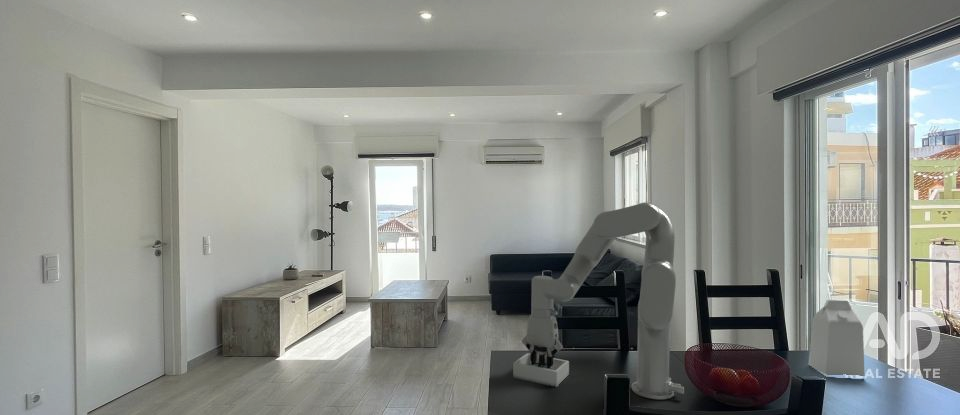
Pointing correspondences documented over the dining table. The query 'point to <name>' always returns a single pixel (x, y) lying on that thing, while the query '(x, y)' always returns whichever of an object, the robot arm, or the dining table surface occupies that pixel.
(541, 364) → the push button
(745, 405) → the dining table surface
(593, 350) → the dining table surface
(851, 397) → the dining table surface
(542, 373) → the bin
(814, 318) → the milk
